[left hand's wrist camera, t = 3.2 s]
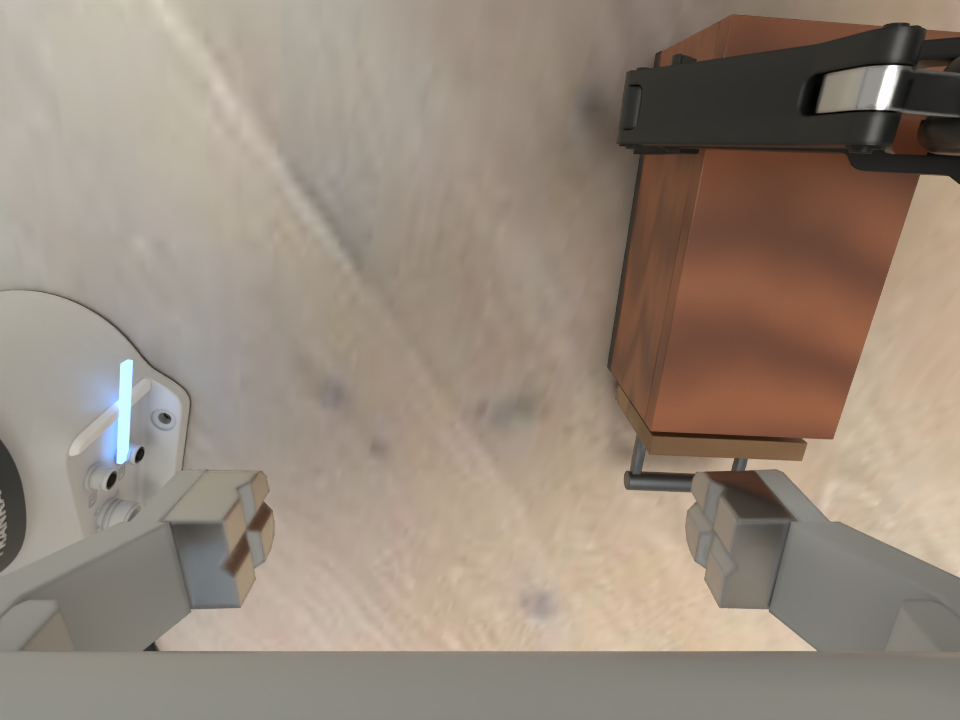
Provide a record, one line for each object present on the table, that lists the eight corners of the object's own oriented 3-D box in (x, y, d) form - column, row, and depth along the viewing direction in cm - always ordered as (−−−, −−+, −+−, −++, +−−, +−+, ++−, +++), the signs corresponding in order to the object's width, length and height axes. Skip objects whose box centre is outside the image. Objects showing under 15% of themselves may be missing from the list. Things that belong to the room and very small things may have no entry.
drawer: (725, 466, 40) (779, 532, 33) (605, 461, 40) (634, 527, 33) (811, 127, 32) (908, 119, 25) (661, 116, 32) (717, 105, 25)
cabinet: (748, 374, 39) (833, 440, 30) (607, 366, 38) (650, 431, 29) (827, 66, 32) (967, 32, 23) (655, 53, 31) (731, 13, 22)
